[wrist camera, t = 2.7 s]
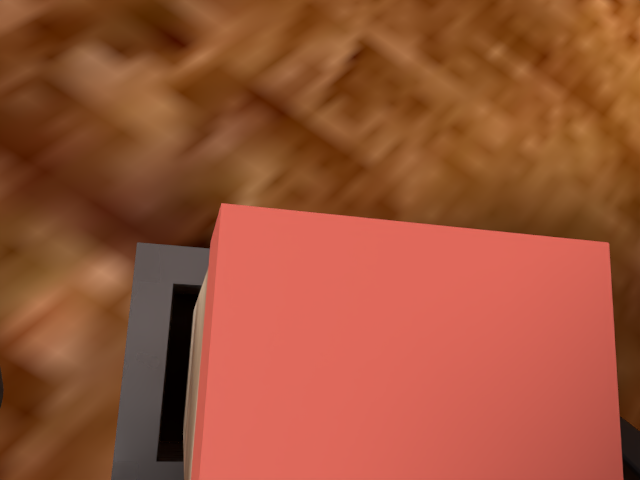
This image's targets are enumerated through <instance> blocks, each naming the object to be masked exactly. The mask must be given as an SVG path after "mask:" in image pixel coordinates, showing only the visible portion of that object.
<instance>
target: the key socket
mask: <svg viewBox="0 0 640 480" xmlns="http://www.w3.org/2000/svg"><path fill="white" fill-rule="evenodd" d="M209 254H210V249H209V248H197V247H185V246H173V245H161V244H148V243H137V249H136V259H135V268H134V277H133V286H132V295H131V304H130V313H129V322H128V331H127V341H126V350H125V359H124V368H123V377H122V386H121V395H120V404H119V414H118V423H117V432H116V441H115V450H114V459H113V468H112V477H111V480H184V449H183V442H160V441H161V430H162V419H163V409H164V398H165V388H166V377H167V366H168V356H169V345H170V335H171V324H172V314H173V303H174V294H187V295H199V293H200V290H201V287H202V284H203V282H204V279H205V276H206V273H207V270H208V266H209Z"/></svg>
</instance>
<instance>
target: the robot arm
mask: <svg viewBox="0 0 640 480" xmlns="http://www.w3.org/2000/svg"><path fill="white" fill-rule="evenodd" d="M2 399H3V381H2V374H1V368H0V407H1V403H2ZM620 431H621V448H622V464H623V480H640V431H639V430H637V429H636V428H635V427H633V426H632V425H631V424H629V423H628V422H627V421H626V420H624V419H623V418H622V417H620Z"/></svg>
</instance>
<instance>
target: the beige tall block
mask: <svg viewBox="0 0 640 480" xmlns="http://www.w3.org/2000/svg"><path fill="white" fill-rule="evenodd" d="M183 449H184V480H623V464H622V448H621V431H620V415H619V398H618V382H617V365H616V349H615V333H614V316H613V300H612V283H611V267H610V250H609V243H608V242H598V241H588V240H578V239H568V238H559V237H549V236H539V235H529V234H519V233H509V232H499V231H490V230H480V229H470V228H460V227H450V226H440V225H430V224H421V223H411V222H401V221H391V220H381V219H371V218H361V217H352V216H342V215H332V214H322V213H312V212H302V211H292V210H283V209H273V208H263V207H253V206H243V205H233V204H223V203H221V207H220V210H219V214H218V217H217V221H216V225H215V228H214V232H213V235H212V239H211V242H210V254H209V266H208V270H207V273H206V276H205V279H204V282H203V284H202V287H201V290H200V293H199V296H198V299H197V302H196V305H195V308H194V311H193V314H192V323H191V335H190V346H189V357H188V369H187V380H186V392H185V403H184V415H183Z"/></svg>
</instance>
